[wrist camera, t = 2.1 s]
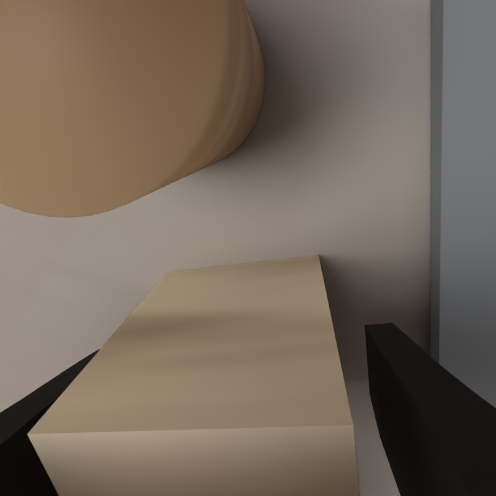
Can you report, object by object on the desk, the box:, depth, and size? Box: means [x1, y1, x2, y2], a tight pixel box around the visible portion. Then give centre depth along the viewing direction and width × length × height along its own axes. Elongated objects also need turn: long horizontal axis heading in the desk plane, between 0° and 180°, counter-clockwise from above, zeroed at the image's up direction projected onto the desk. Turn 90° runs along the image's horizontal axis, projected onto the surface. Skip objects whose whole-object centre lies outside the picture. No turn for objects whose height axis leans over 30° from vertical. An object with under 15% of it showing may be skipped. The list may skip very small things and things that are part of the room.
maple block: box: [27, 255, 360, 496], centre depth 7 cm, size 4×4×6 cm
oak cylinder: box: [0, 0, 266, 217], centre depth 6 cm, size 4×4×5 cm
